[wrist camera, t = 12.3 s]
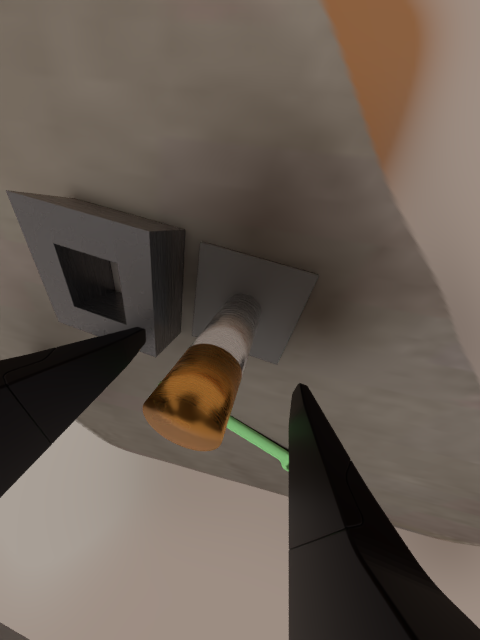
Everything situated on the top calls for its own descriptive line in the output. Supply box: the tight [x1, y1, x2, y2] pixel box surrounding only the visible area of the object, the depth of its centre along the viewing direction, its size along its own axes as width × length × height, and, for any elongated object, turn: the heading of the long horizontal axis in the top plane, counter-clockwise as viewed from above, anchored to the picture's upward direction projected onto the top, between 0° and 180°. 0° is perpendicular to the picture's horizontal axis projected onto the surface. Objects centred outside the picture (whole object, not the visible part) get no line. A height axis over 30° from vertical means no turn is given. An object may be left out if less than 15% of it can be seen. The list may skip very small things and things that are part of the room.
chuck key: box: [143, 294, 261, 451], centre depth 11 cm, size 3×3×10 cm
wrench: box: [158, 382, 289, 471], centre depth 24 cm, size 25×2×5 cm
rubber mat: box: [192, 242, 319, 365], centre depth 15 cm, size 9×9×1 cm
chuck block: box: [6, 190, 185, 357], centre depth 15 cm, size 10×10×4 cm
